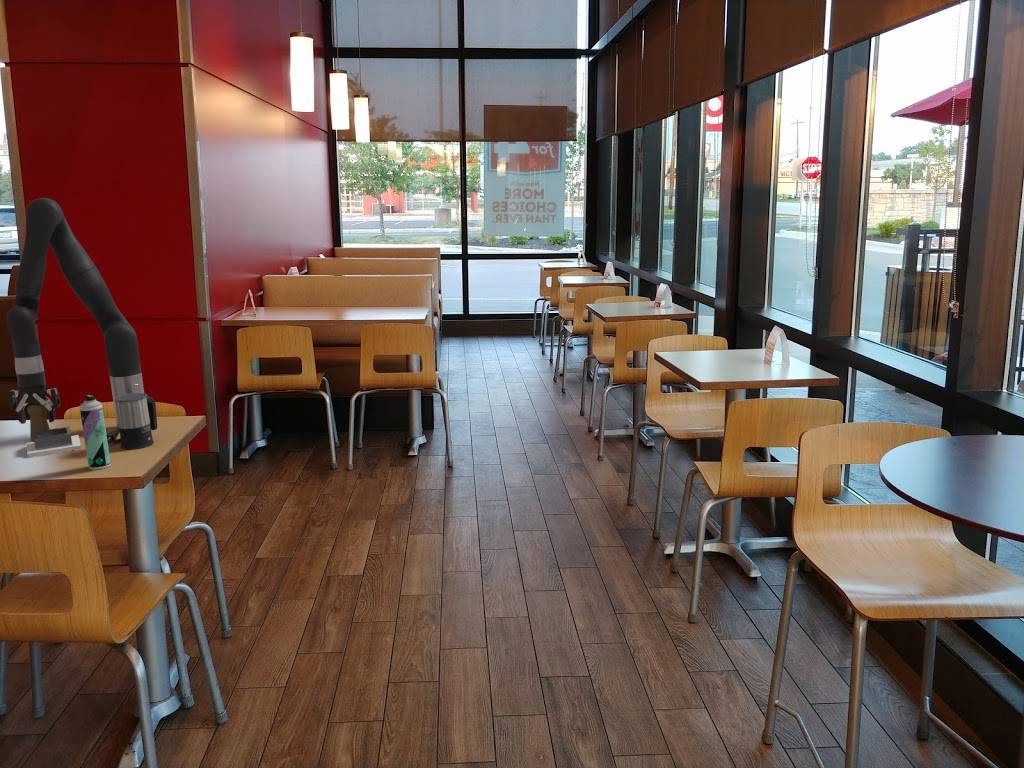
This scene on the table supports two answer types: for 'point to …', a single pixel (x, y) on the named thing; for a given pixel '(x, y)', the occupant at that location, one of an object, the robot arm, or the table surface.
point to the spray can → (94, 434)
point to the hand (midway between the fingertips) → (37, 422)
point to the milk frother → (134, 421)
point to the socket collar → (52, 438)
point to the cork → (37, 419)
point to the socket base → (32, 451)
